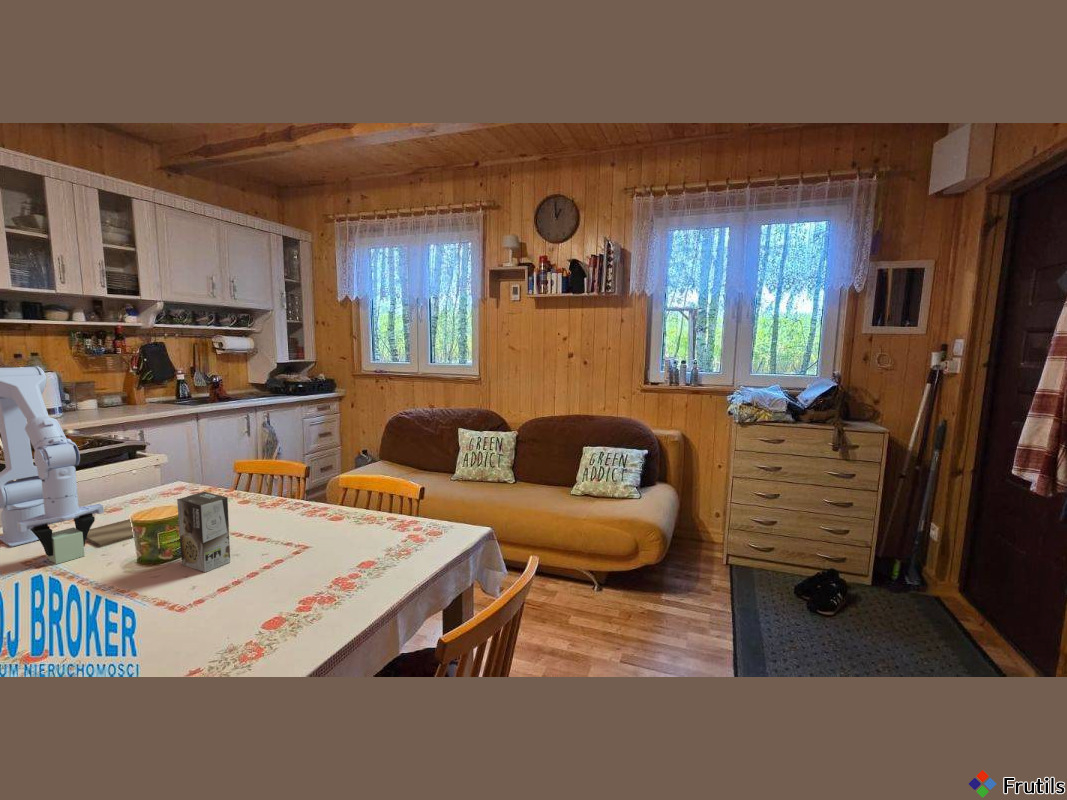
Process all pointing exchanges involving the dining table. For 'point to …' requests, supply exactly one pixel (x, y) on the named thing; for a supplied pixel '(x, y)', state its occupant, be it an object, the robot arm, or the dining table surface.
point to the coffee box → (204, 531)
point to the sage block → (67, 545)
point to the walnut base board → (110, 533)
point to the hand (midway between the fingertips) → (65, 550)
